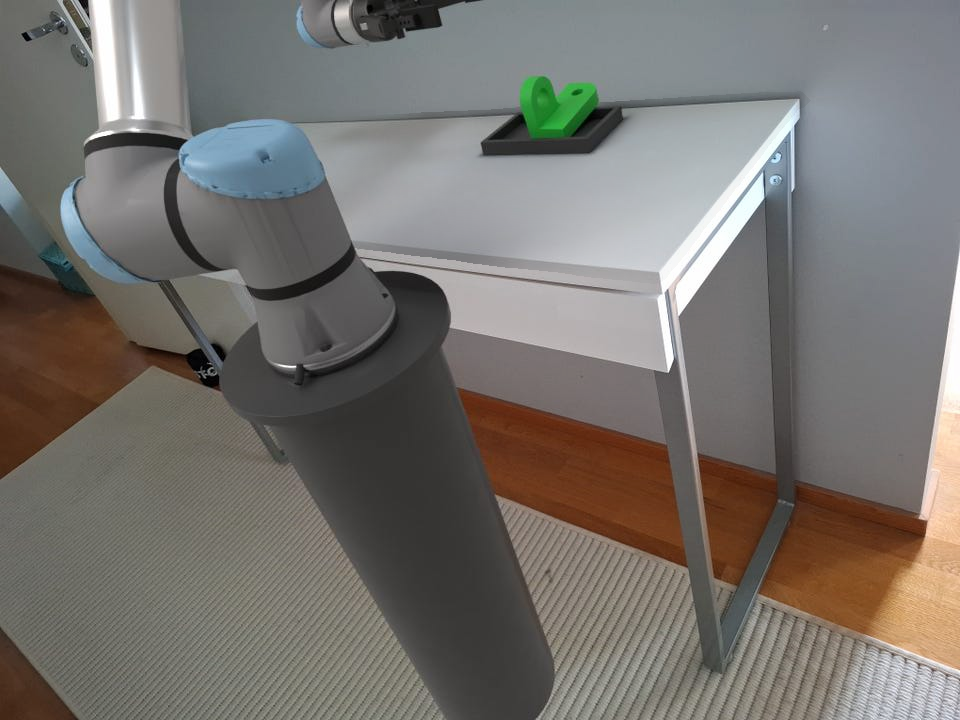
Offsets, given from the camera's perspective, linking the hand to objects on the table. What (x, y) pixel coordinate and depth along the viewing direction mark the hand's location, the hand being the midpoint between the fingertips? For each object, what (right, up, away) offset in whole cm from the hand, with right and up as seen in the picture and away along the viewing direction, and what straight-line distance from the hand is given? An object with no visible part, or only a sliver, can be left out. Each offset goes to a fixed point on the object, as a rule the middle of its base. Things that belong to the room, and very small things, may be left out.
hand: (469, 0), depth 93 cm
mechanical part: (+15, -14, +6) cm, 22 cm away
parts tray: (+12, -17, +5) cm, 22 cm away
